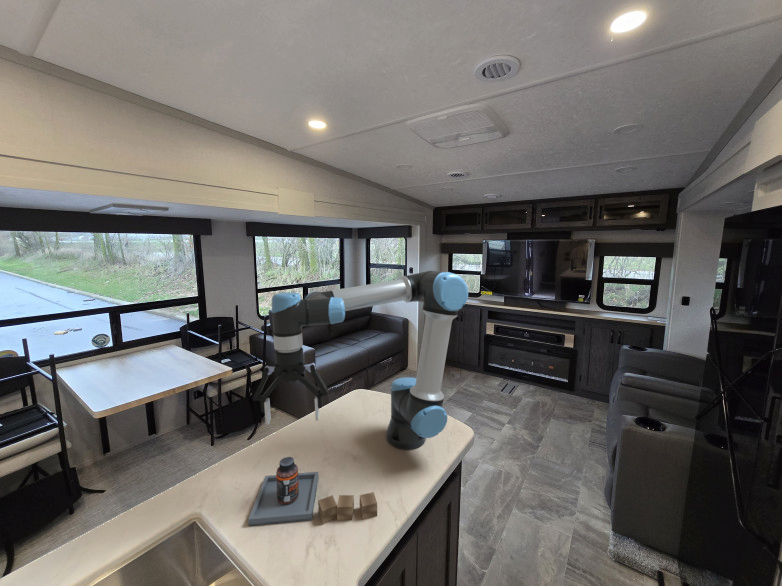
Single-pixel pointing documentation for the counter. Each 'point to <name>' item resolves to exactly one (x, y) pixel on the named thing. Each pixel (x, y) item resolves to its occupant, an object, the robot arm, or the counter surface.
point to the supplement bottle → (287, 481)
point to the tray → (275, 512)
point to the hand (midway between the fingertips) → (293, 420)
